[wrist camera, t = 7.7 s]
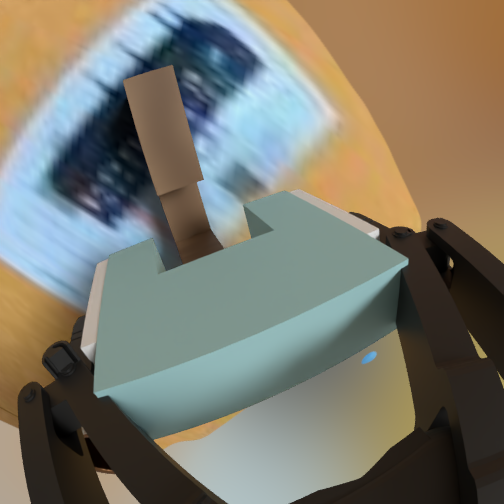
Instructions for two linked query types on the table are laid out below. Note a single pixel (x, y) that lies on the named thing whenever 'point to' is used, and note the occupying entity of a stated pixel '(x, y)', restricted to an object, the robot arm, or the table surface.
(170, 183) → the walnut fin
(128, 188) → the table surface
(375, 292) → the light blue piece
